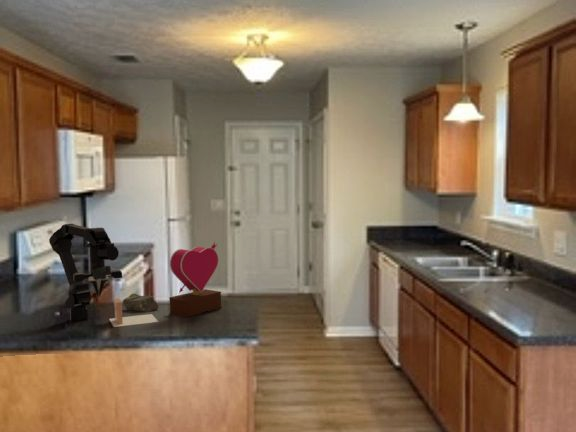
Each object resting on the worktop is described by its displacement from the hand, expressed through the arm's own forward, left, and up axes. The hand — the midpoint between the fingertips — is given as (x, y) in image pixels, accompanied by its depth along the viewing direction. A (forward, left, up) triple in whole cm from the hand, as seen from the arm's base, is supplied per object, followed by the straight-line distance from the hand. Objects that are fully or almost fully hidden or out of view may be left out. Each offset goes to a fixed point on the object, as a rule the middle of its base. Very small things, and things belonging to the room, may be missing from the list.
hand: (98, 296), depth 248 cm
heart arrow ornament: (+43, +6, -12) cm, 45 cm away
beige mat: (+14, 0, -12) cm, 18 cm away
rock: (+20, +19, -12) cm, 30 cm away
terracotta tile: (+8, 0, -12) cm, 14 cm away
